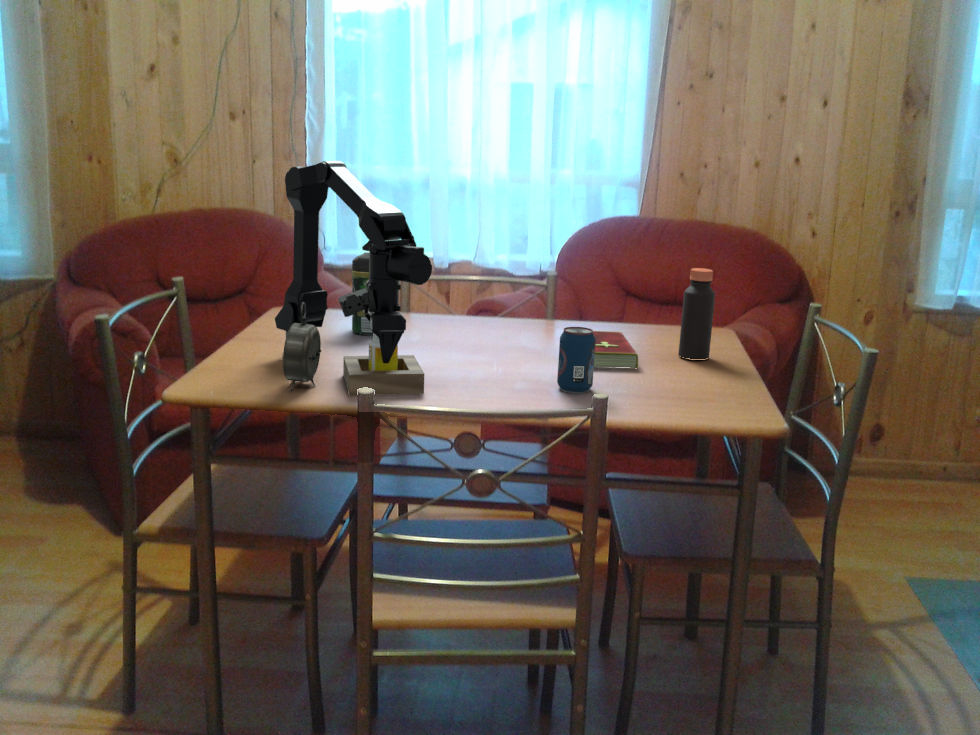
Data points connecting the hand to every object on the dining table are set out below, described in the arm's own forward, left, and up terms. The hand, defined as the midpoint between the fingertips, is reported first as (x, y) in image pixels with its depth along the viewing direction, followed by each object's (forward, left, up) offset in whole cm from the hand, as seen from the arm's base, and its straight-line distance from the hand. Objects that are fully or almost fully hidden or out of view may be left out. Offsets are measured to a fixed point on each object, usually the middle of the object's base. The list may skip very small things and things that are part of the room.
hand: (382, 357), depth 195 cm
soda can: (+6, +37, -6) cm, 38 cm away
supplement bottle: (0, 0, -5) cm, 5 cm away
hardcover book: (-19, +51, -6) cm, 55 cm away
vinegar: (-17, +72, -6) cm, 74 cm away
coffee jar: (-46, +2, -6) cm, 46 cm away
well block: (0, 0, -6) cm, 6 cm away
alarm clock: (0, -15, -6) cm, 16 cm away
